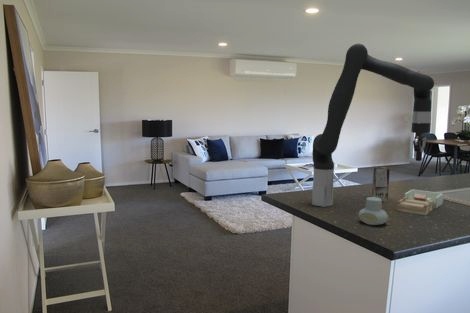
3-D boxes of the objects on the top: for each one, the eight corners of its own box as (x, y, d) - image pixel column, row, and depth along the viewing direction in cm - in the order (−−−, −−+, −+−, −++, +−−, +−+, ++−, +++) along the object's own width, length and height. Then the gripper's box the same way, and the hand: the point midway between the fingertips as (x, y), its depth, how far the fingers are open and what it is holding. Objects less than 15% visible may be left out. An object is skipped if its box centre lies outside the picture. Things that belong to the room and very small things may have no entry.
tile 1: (425, 198, 173) (426, 195, 174) (413, 196, 176) (414, 193, 177) (426, 205, 176) (427, 201, 177) (415, 203, 180) (416, 200, 180)
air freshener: (390, 223, 149) (391, 199, 148) (382, 228, 143) (383, 202, 142) (363, 218, 156) (364, 194, 155) (355, 222, 150) (356, 198, 149)
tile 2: (431, 198, 182) (430, 202, 182) (419, 196, 185) (419, 200, 185) (428, 200, 178) (428, 204, 178) (417, 198, 181) (416, 202, 181)
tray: (436, 208, 172) (437, 198, 171) (403, 203, 180) (404, 193, 180) (442, 203, 181) (443, 193, 181) (411, 199, 190) (412, 189, 190)
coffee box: (388, 201, 184) (390, 169, 182) (374, 201, 185) (376, 168, 183) (384, 197, 193) (386, 166, 191) (371, 197, 194) (373, 166, 192)
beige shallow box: (425, 215, 161) (426, 206, 161) (396, 210, 169) (396, 201, 168) (433, 208, 172) (434, 200, 171) (405, 204, 179) (406, 196, 179)
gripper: (416, 121, 175) (414, 158, 177) (407, 122, 165) (405, 161, 167) (434, 121, 170) (431, 160, 172) (426, 122, 160) (423, 163, 162)
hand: (418, 160), depth 170 cm, fingers closed
